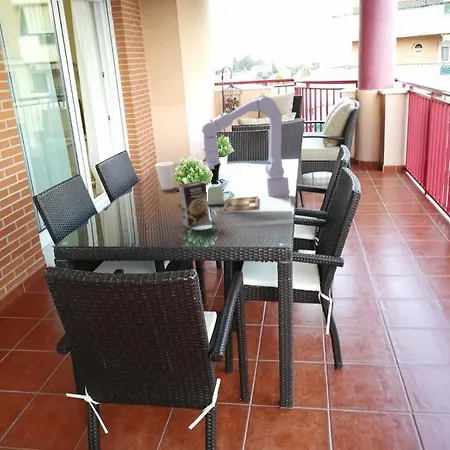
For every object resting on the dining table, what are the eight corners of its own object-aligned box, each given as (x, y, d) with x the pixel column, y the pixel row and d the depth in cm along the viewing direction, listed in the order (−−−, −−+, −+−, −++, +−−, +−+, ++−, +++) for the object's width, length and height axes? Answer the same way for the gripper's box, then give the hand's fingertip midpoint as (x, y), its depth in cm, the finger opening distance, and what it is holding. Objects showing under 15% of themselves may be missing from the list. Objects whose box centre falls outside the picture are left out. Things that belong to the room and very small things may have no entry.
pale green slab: (224, 205, 210) (222, 185, 207) (223, 206, 208) (221, 186, 205) (206, 206, 211) (203, 186, 208) (205, 208, 209) (203, 187, 206)
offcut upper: (249, 205, 200) (248, 200, 200) (249, 208, 196) (249, 203, 196) (232, 207, 200) (232, 202, 200) (232, 209, 197) (232, 205, 196)
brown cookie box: (189, 228, 183) (184, 187, 178) (182, 224, 189) (177, 184, 184) (210, 223, 187) (206, 182, 182) (203, 219, 193) (199, 180, 188)
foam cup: (155, 190, 250) (151, 165, 246) (164, 186, 258) (160, 162, 254) (171, 190, 246) (168, 165, 242) (179, 186, 254) (176, 161, 250)
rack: (258, 201, 210) (257, 196, 209) (258, 212, 195) (257, 206, 194) (226, 203, 211) (226, 198, 211) (223, 214, 196) (223, 208, 196)
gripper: (204, 149, 211) (207, 179, 215) (200, 155, 197) (204, 187, 201) (220, 147, 210) (223, 178, 214) (217, 153, 197) (220, 185, 201)
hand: (215, 182), depth 208 cm, fingers open, 7 cm apart
